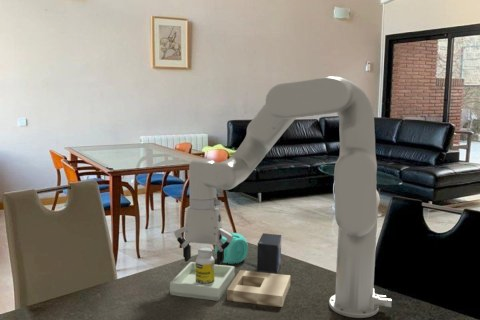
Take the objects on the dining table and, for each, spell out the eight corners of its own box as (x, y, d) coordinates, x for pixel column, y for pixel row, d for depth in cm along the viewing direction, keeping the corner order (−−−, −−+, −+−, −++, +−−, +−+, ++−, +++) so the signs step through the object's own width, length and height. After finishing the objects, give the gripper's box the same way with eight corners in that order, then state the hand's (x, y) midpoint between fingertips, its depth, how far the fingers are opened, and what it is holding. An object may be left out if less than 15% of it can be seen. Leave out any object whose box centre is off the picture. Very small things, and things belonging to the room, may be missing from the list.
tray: (234, 277, 142) (234, 266, 141) (218, 300, 127) (218, 288, 126) (190, 272, 145) (190, 261, 145) (170, 294, 130) (169, 282, 129)
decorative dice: (233, 253, 162) (233, 231, 161) (248, 260, 156) (248, 237, 155) (214, 258, 157) (214, 235, 156) (229, 266, 151) (229, 242, 150)
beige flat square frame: (290, 285, 137) (290, 275, 136) (282, 307, 123) (282, 296, 123) (240, 279, 140) (240, 270, 140) (226, 300, 127) (226, 289, 126)
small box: (277, 278, 141) (278, 245, 140) (256, 276, 143) (256, 243, 141) (281, 265, 152) (282, 234, 150) (261, 263, 153) (262, 232, 151)
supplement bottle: (193, 285, 134) (192, 252, 132) (199, 278, 139) (198, 246, 137) (211, 287, 132) (211, 254, 131) (216, 279, 138) (216, 247, 136)
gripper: (236, 202, 133) (236, 260, 136) (179, 198, 138) (180, 254, 141) (229, 208, 126) (229, 269, 129) (169, 204, 131) (170, 263, 133)
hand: (203, 261), depth 135 cm, fingers open, 9 cm apart
